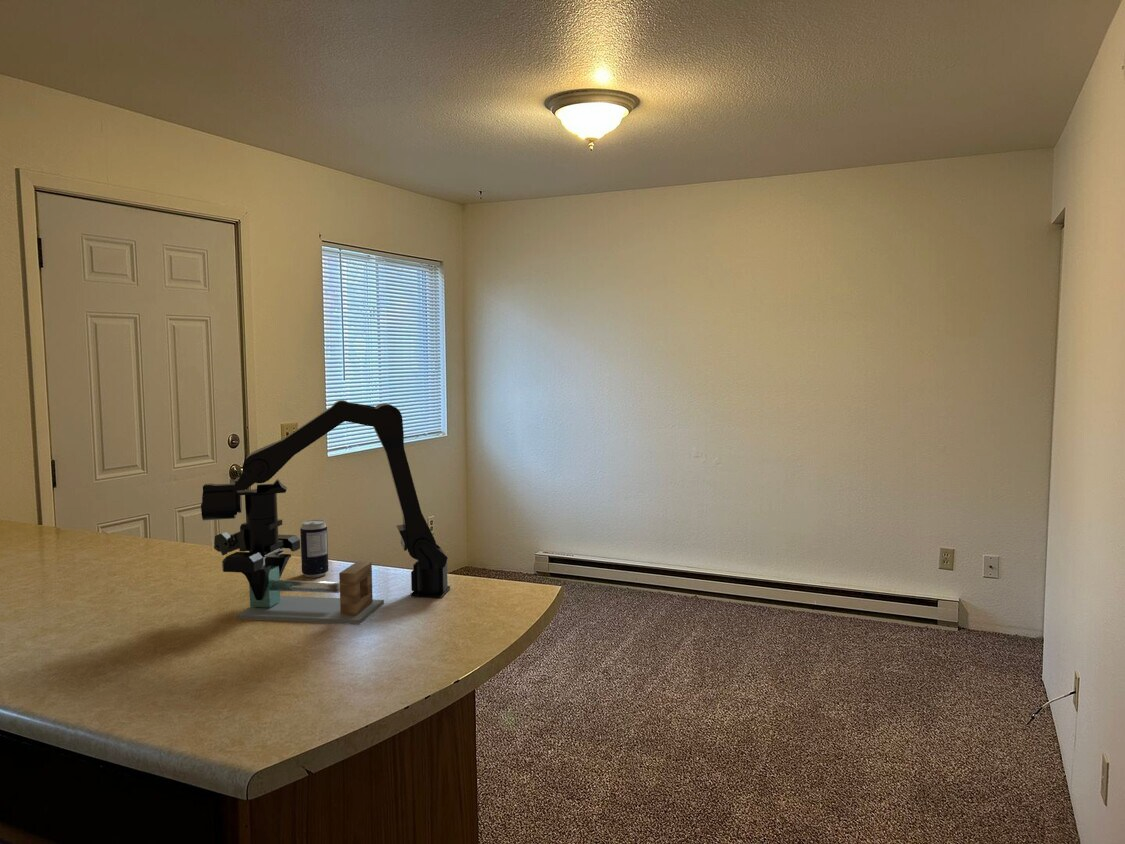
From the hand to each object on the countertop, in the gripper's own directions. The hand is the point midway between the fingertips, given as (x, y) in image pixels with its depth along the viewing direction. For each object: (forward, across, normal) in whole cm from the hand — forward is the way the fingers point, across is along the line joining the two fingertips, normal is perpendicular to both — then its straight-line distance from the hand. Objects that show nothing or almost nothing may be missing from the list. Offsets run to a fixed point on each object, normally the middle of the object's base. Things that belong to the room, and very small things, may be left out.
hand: (265, 596), depth 151 cm
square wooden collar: (+3, 0, +19) cm, 19 cm away
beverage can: (+3, -24, -1) cm, 24 cm away
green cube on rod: (+1, 0, +7) cm, 7 cm away
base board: (+2, 0, +10) cm, 10 cm away
